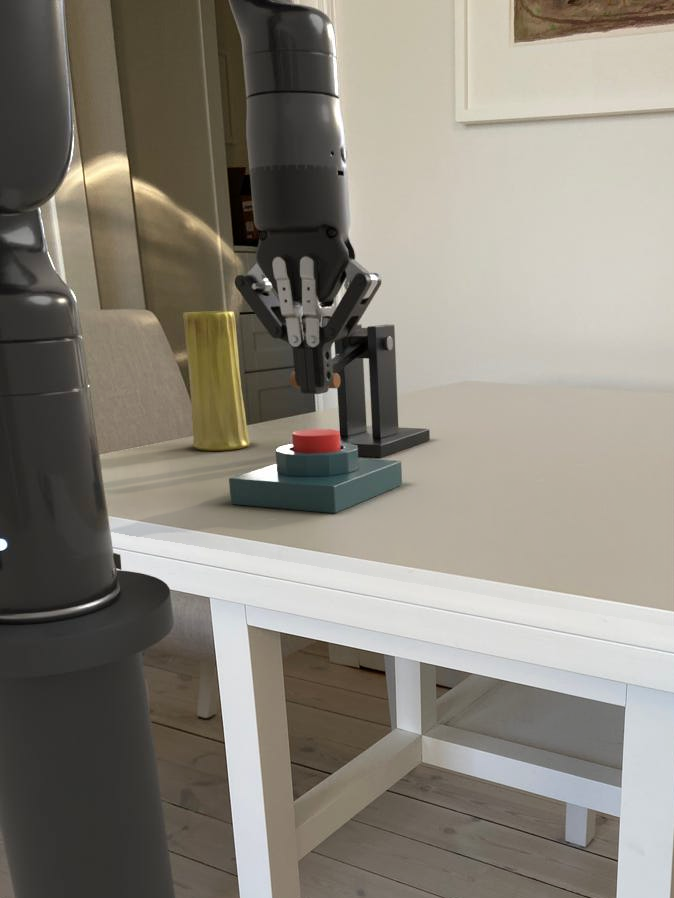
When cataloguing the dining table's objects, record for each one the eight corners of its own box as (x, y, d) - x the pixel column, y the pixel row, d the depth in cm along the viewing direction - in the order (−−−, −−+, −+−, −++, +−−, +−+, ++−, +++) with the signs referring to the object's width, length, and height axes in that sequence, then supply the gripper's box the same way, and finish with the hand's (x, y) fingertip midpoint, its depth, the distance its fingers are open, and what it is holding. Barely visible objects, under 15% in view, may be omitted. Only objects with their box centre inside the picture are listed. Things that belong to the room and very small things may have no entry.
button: (325, 458, 83) (324, 436, 82) (284, 455, 84) (282, 434, 84) (349, 450, 86) (348, 430, 86) (309, 448, 88) (308, 427, 87)
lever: (335, 395, 97) (331, 371, 96) (292, 393, 99) (286, 370, 98) (393, 350, 107) (389, 327, 106) (352, 349, 109) (348, 327, 107)
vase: (257, 442, 113) (245, 310, 109) (239, 451, 108) (226, 313, 103) (205, 442, 114) (191, 311, 109) (185, 451, 108) (169, 313, 103)
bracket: (381, 457, 103) (375, 328, 99) (306, 453, 106) (297, 327, 102) (430, 440, 114) (426, 322, 109) (360, 436, 117) (354, 322, 112)
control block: (335, 513, 79) (332, 463, 78) (230, 504, 83) (226, 456, 82) (402, 485, 90) (400, 440, 88) (307, 478, 93) (304, 435, 92)
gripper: (198, 166, 77) (223, 396, 83) (348, 156, 72) (363, 401, 78) (254, 172, 83) (273, 385, 89) (396, 164, 78) (405, 389, 84)
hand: (315, 392), depth 83 cm, fingers closed
